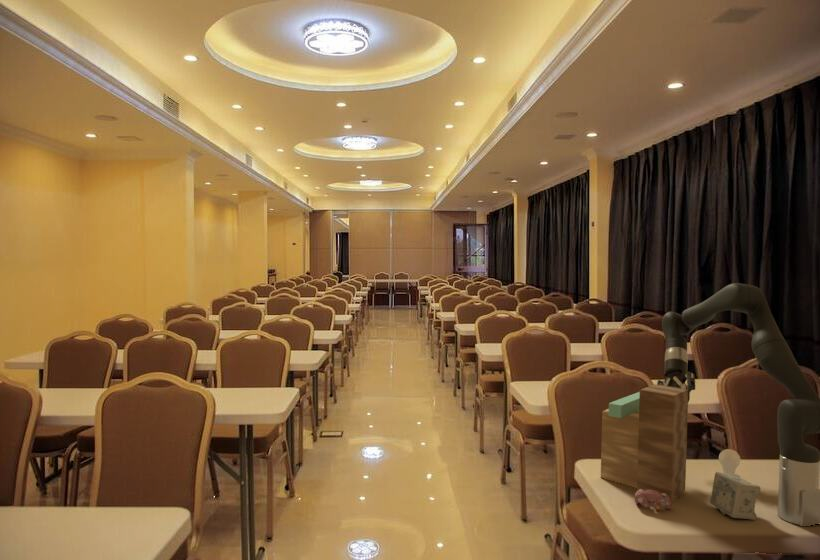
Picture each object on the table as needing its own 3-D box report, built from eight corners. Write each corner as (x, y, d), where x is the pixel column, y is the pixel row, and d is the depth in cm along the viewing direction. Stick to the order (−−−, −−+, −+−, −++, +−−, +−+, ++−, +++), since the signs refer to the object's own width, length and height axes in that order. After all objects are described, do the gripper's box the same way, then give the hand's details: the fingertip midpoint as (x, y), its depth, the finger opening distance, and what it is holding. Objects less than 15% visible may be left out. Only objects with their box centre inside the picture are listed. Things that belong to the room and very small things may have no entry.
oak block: (619, 467, 200) (620, 403, 200) (654, 476, 192) (656, 410, 191) (600, 477, 190) (602, 411, 189) (637, 488, 182) (638, 418, 181)
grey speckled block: (760, 520, 160) (761, 483, 160) (733, 522, 159) (734, 484, 159) (734, 505, 170) (736, 470, 170) (709, 507, 169) (710, 471, 168)
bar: (641, 402, 203) (642, 390, 202) (653, 404, 200) (653, 392, 200) (608, 415, 184) (608, 403, 184) (620, 418, 181) (621, 405, 181)
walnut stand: (652, 483, 186) (655, 384, 185) (685, 492, 179) (688, 389, 178) (636, 494, 177) (639, 389, 176) (670, 504, 170) (673, 395, 169)
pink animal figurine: (633, 511, 169) (633, 493, 166) (635, 499, 172) (634, 481, 169) (670, 518, 164) (671, 500, 161) (671, 506, 168) (671, 488, 165)
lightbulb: (734, 480, 190) (735, 447, 189) (743, 487, 184) (744, 453, 183) (714, 479, 190) (715, 446, 190) (722, 486, 184) (724, 452, 184)
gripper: (652, 363, 213) (650, 404, 204) (685, 353, 201) (684, 396, 193) (667, 371, 215) (665, 412, 207) (700, 362, 204) (700, 404, 195)
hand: (675, 404), depth 200 cm, fingers open, 8 cm apart
